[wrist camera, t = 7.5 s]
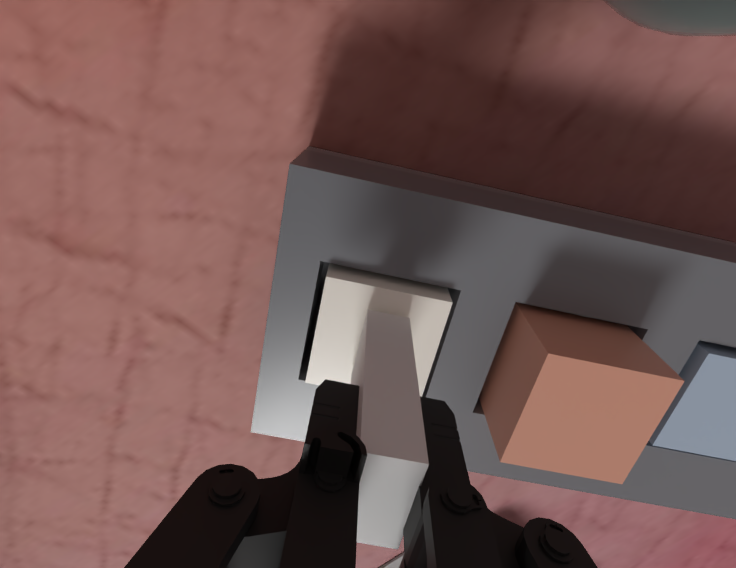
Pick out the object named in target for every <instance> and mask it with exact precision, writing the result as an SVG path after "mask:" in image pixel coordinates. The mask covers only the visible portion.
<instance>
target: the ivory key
mask: <svg viewBox="0 0 736 568" xmlns="http://www.w3.org/2000/svg"><path fill="white" fill-rule="evenodd" d="M452 303H453V302H452V299H451V296H450V294H449V291H448V288H447V287H442V286H438V285H433V284H428V283H423V282H419V281H414V280H409V279H404V278H399V277H395V276H390V275H385V274H380V273H375V272H371V271H366V270H361V269H356V268H351V267H347V266H342V265H337V264H332V263H329V267H328V271H327V274H326V279H325V284H324V289H323V294H322V299H321V304H320V309H319V315H318V320H317V325H316V330H315V335H314V340H313V345H312V350H311V355H310V361H309V366H308V371H307V376H306V381H305V383H310V384H315V385H320V384H321V383H322V382H323V381H324V380H325V379H327V380H332V381H337V382H342V383H348V384H351V375H352V370H353V366H354V362H355V358H356V354H357V350H358V346H359V342H360V338H361V333H362V329H363V325H364V321H365V317H366V313H367V309H369V310H373V311H378V312H383V313H388V314H393V315H398V316H403V317H408V318H410V325H411V332H412V340H413V347H414V355H415V363H416V370H417V378H418V385H419V393H420V396H421V397H422V395H423V392H424V389H425V386H426V383H427V380H428V377H429V374H430V371H431V367H432V364H433V361H434V358H435V355H436V352H437V349H438V346H439V343H440V340H441V337H442V334H443V331H444V328H445V325H446V322H447V319H448V315H449V312H450V309H451V306H452Z"/></svg>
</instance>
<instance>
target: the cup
mask: <svg viewBox="0 0 736 568" xmlns="http://www.w3.org/2000/svg"><path fill="white" fill-rule="evenodd" d="M603 1H604V2H606V3H607V4H608V5H609V6H610V7H611V8H612V9H613V10H614V11H615V12H617V13H618V14H619V15H621V16H622V17H624V18H626V19H628V20H629V21H631V22H633V23H635V24H636V25H638V26H641V27H644V28H648V29H651V30H655V31H658V32H662V33H666V34H670V35H680V36H736V0H603Z"/></svg>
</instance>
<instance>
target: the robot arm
mask: <svg viewBox="0 0 736 568" xmlns="http://www.w3.org/2000/svg"><path fill="white" fill-rule="evenodd" d="M403 535H404V556H403V558H402V561H401V564H400V566H399V568H597V566H596V565H595V563H594V562H593V560H592V559H591V557H590V555H589V554H588V552H587V551H586V549H585V548H584V546H583V545H582V544H581V542H580V541H579V540H578V539H577V538H576V536H575V535H574V534H573V533H572V532H570V531H569V530H568V529H567V528H565V527H564V526H563V525H561V524H559V523H557V522H555V521H553V520H550V519H545V518H535V519H532V520H529V522H528V523H527V524H526V525H525V527H524V528H523V527H521V526H519V525H517V524H515V523H512V522H510V521H508V520H506V519H504V518H502V517H500V516H498V515H496V514H495V513H493V512H491V511H490V510H489V509H488V508H487V506H486V503H485V501H484V499H483V497H482V495H481V494H480V493H479V492H478V491H477V490H476V489H475V488H474V487H473V486H472V485H471V484H470V480H469V476H468V472H467V467H466V463H465V459H464V454H463V450H462V445H461V442H460V437H459V432H458V431H457V424H456V419H455V415H454V413H453V412H452V410H451V409H450V408H449V406H448V405H447V403H446V402H445V401H442V400H437V399H431V398H426V397H421V396H420V393H419V385H418V378H417V370H416V363H415V355H414V347H413V340H412V332H411V325H410V318H408V317H403V316H398V315H393V314H388V313H383V312H378V311H373V310H369V309H367V313H366V317H365V321H364V325H363V329H362V333H361V338H360V342H359V346H358V350H357V354H356V358H355V362H354V366H353V370H352V375H351V384H348V383H342V382H337V381H332V380H327V379H325V380H324V381H323V382H322V383H321V384H320V385H319V386H318V387H317V388H316V391H315V396H314V400H313V405H312V410H311V415H310V419H309V424H308V429H307V434H306V439H305V443H304V448H303V453H302V457H301V459H300V462H299V463H298V464H297V465H296V467H295V468H293V469H292V470H291V471H289V472H288V473H286V474H283V475H281V476H277V477H273V478H265V479H257V477H256V476H255V475H254V473H253V472H251V471H250V470H248V469H247V468H245V467H243V466H239V465H234V464H225V465H218V466H215V467H213V468H210V469H208V470H206V471H205V472H203V473H202V474H201V475H200V476H199V477H198V478H197V479H196V480H195V481H194V482H193V483H192V485H191V486H190V487H189V488H188V490H187V491H186V492H185V493H184V495H183V496H182V497H181V498H180V499H179V501H178V502H177V503H176V504H175V506H174V507H173V508H172V509H171V511H170V512H169V513H168V514H167V516H166V517H165V518H164V519H163V520H162V522H161V523H160V524H159V525H158V527H157V528H156V529H155V530H154V532H153V533H152V534H151V535H150V536H149V538H148V539H147V540H146V541H145V543H144V544H143V545H142V546H141V548H140V549H139V550H138V551H137V552H136V554H135V555H134V556H133V557H132V559H131V560H130V561H129V562H128V564H127V565H126V566H125V567H124V568H355V564H356V542H358V543H363V544H369V545H375V546H381V547H387V548H393V549H398V548H399V545H400V542H401V540H402V537H403Z"/></svg>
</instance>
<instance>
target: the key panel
mask: <svg viewBox="0 0 736 568" xmlns="http://www.w3.org/2000/svg"><path fill="white" fill-rule="evenodd" d="M329 263H332V264H337V265H342V266H347V267H351V268H356V269H361V270H366V271H371V272H375V273H380V274H385V275H390V276H395V277H399V278H404V279H409V280H414V281H419V282H423V283H428V284H433V285H438V286H442V287H447V288H448V291H449V294H450V296H451V299H452V302H453V303H452V306H451V309H450V312H449V315H448V319H447V322H446V325H445V328H444V331H443V334H442V337H441V340H440V343H439V346H438V349H437V352H436V355H435V358H434V361H433V364H432V367H431V371H430V374H429V377H428V380H427V383H426V386H425V389H424V392H423V395H422V397H426V398H431V399H437V400H442V401H445V402H446V403H447V405H448V406H449V408H450V409H451V410H452V412H453V413H454V415H455V419H456V424H457V431H458V432H459V437H460V442H461V445H462V450H463V454H464V459H465V463H466V467H467V471H470V472H476V473H482V474H487V475H493V476H498V477H504V478H509V479H515V480H520V481H526V482H532V483H537V484H543V485H548V486H554V487H559V488H565V489H571V490H576V491H582V492H587V493H593V494H598V495H604V496H610V497H615V498H621V499H626V500H632V501H637V502H643V503H648V504H654V505H660V506H665V507H671V508H676V509H682V510H687V511H693V512H699V513H704V514H710V515H715V516H721V517H726V518H732V519H736V461H732V460H727V459H722V458H717V457H711V456H706V455H701V454H696V453H690V452H685V451H680V450H674V449H669V448H664V447H659V446H653V445H652V444H651V443H650V442H649V441H648V443H647V444H646V446H645V448H644V449H643V451H642V453H641V454H640V456H639V457H638V459H637V461H636V462H635V464H634V466H633V467H632V469H631V471H630V472H629V474H628V476H627V477H626V479H625V481H624V482H623V484H618V483H612V482H607V481H601V480H596V479H590V478H585V477H579V476H574V475H568V474H563V473H557V472H552V471H546V470H541V469H535V468H530V467H524V466H519V465H513V464H508V463H502V462H500V460H499V457H498V454H497V451H496V448H495V445H494V442H493V439H492V436H491V433H490V430H489V427H488V424H487V421H486V418H485V415H484V412H483V409H482V406H481V403H480V400H479V395H480V392H481V390H482V387H483V385H484V382H485V379H486V377H487V374H488V372H489V369H490V367H491V364H492V361H493V359H494V356H495V354H496V351H497V349H498V346H499V344H500V341H501V338H502V336H503V333H504V331H505V328H506V326H507V323H508V320H509V318H510V315H511V313H512V310H513V308H514V305H515V302H517V303H521V304H526V305H531V306H536V307H541V308H545V309H550V310H555V311H560V312H565V313H569V314H574V315H579V316H584V317H588V318H593V319H598V320H603V321H608V322H612V323H617V324H622V325H627V326H628V327H629V328H630V329H631V330H632V331H633V332H634V333H635V334H636V335H637V336H638V337H639V338H640V339H641V340H642V341H644V342H645V343H646V344H647V345H648V346H649V347H650V348H651V349H652V350H653V351H654V352H655V353H656V354H657V355H658V356H659V357H660V358H661V359H662V360H663V361H664V362H666V363H667V364H668V365H669V366H670V367H671V368H672V369H673V370H674V371H675V372H676V373H677V374H678V375H679V374H680V372H681V370H682V369H683V367H684V365H685V364H686V362H687V360H688V358H689V357H690V355H691V353H692V352H693V350H694V348H695V347H696V345H697V343H698V342H699V340H701V341H706V342H711V343H716V344H721V345H725V346H730V347H735V348H736V243H735V242H730V241H726V240H721V239H717V238H713V237H708V236H704V235H699V234H695V233H690V232H686V231H682V230H677V229H673V228H668V227H664V226H660V225H655V224H651V223H646V222H642V221H637V220H633V219H629V218H624V217H620V216H615V215H611V214H606V213H602V212H598V211H593V210H589V209H584V208H580V207H576V206H571V205H567V204H562V203H558V202H553V201H549V200H545V199H540V198H536V197H531V196H527V195H523V194H518V193H514V192H509V191H505V190H500V189H496V188H492V187H487V186H483V185H478V184H474V183H470V182H465V181H461V180H456V179H452V178H447V177H443V176H439V175H434V174H430V173H425V172H421V171H416V170H412V169H408V168H403V167H399V166H394V165H390V164H386V163H381V162H377V161H372V160H368V159H363V158H359V157H355V156H350V155H346V154H341V153H337V152H333V151H328V150H324V149H319V148H315V147H310V146H309V147H308V148H307V149H306V150H304V151H303V152H302V153H301V154H300V155H299V156H298V157H297V158H296V159H294V160H293V161H292V162H291V163H290V165H289V172H288V179H287V186H286V193H285V200H284V206H283V213H282V220H281V227H280V234H279V241H278V248H277V255H276V262H275V269H274V276H273V282H272V289H271V296H270V303H269V310H268V317H267V324H266V331H265V338H264V345H263V352H262V358H261V365H260V372H259V379H258V386H257V393H256V400H255V407H254V414H253V421H252V428H251V432H253V433H259V434H264V435H270V436H276V437H281V438H287V439H292V440H298V441H303V442H305V439H306V434H307V429H308V424H309V419H310V415H311V410H312V405H313V400H314V396H315V391H316V388H317V387H318V386H319V385H315V384H310V383H305V381H306V376H307V371H308V366H309V361H310V355H311V350H312V345H313V340H314V335H315V330H316V325H317V320H318V315H319V309H320V304H321V299H322V294H323V289H324V284H325V279H326V274H327V271H328V267H329Z"/></svg>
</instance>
